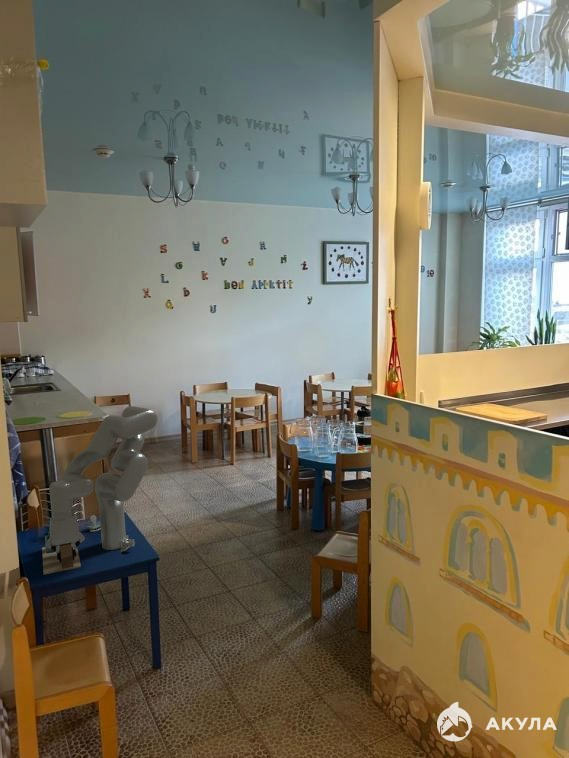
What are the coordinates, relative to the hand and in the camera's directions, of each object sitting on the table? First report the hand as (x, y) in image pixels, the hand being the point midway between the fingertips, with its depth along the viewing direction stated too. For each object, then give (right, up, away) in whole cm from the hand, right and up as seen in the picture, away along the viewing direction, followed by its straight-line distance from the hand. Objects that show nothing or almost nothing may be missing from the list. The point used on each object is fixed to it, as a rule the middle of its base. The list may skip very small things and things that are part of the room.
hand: (66, 559), depth 214 cm
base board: (-5, -3, +8) cm, 10 cm away
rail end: (0, -2, 0) cm, 2 cm away
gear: (-16, 0, +30) cm, 34 cm away
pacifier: (-1, +2, +36) cm, 36 cm away
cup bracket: (-8, -1, +10) cm, 13 cm away
